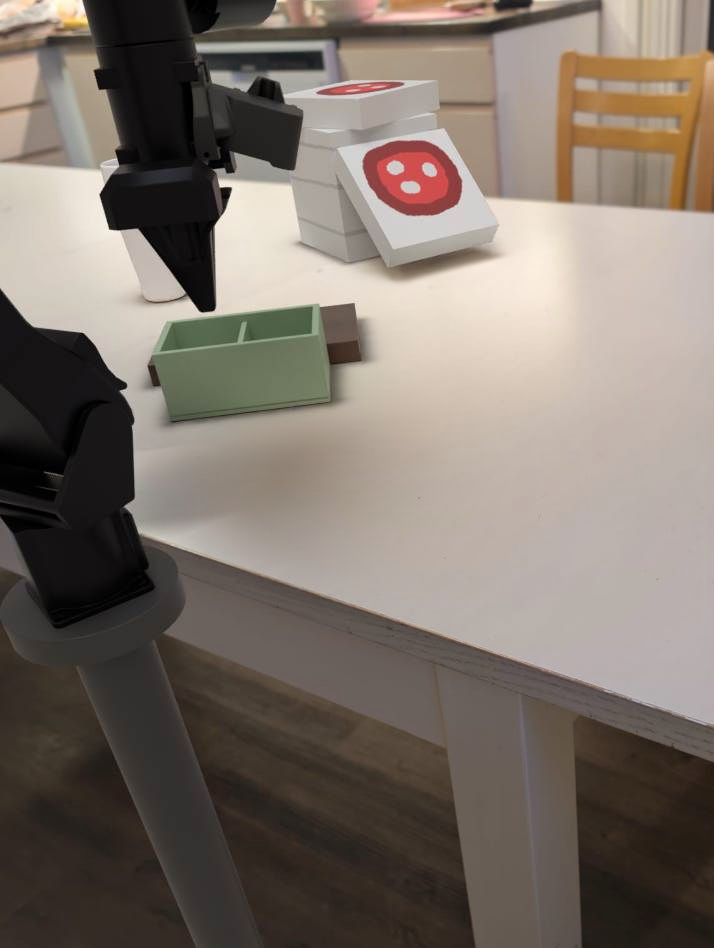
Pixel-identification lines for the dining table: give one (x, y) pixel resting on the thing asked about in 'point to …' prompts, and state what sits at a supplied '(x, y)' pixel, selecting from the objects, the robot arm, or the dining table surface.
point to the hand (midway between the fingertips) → (208, 310)
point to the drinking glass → (146, 258)
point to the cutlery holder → (243, 362)
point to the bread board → (337, 335)
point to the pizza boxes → (383, 175)
